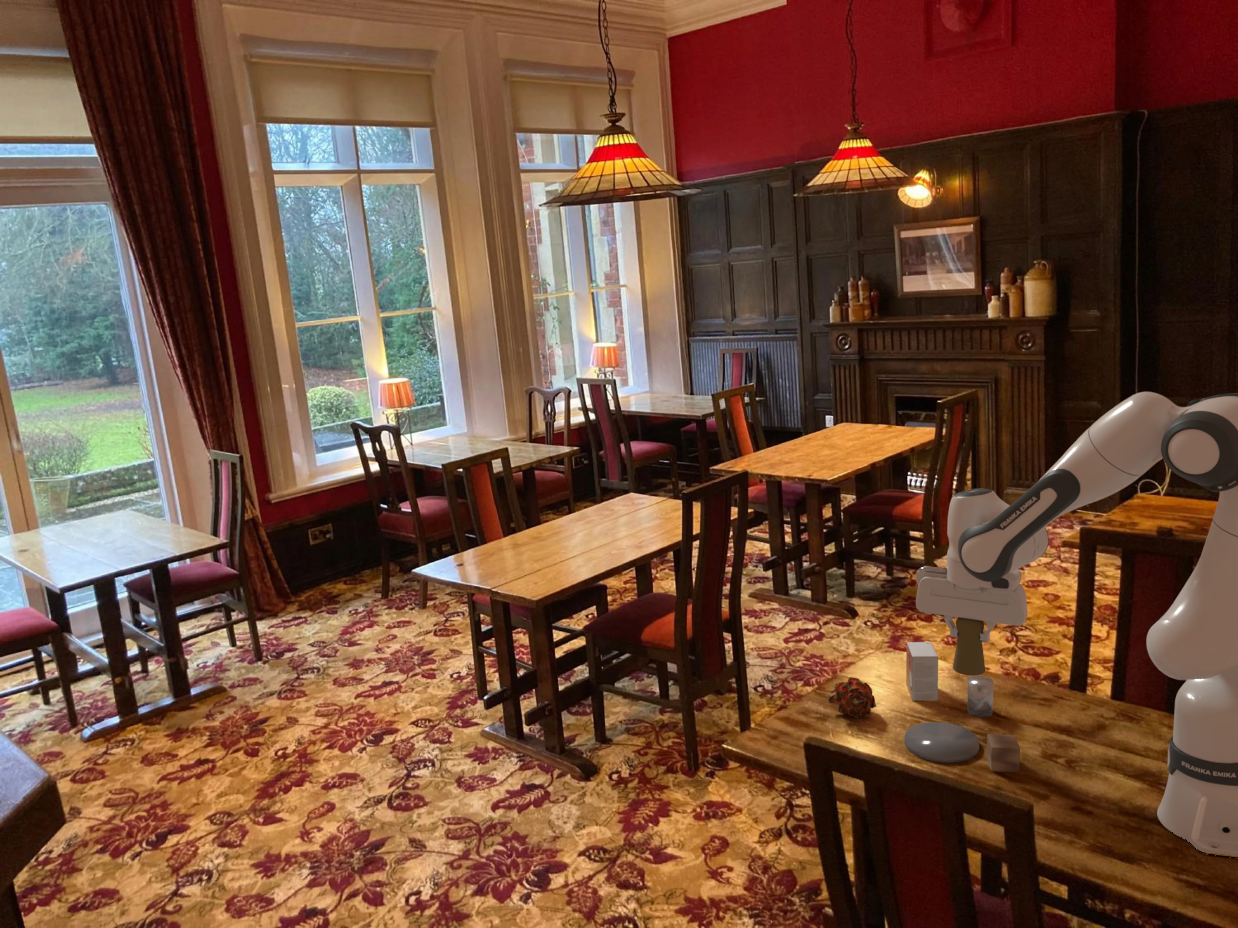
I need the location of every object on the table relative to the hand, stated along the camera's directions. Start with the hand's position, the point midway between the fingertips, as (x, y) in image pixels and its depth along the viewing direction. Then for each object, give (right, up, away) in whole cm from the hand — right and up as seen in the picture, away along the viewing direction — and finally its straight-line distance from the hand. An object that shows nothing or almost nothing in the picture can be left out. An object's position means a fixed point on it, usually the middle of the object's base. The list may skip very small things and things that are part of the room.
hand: (969, 638), depth 188 cm
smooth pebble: (-4, -22, +4) cm, 22 cm away
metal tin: (+8, -18, +16) cm, 25 cm away
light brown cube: (+4, -23, -5) cm, 24 cm away
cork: (0, -6, +1) cm, 7 cm away
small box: (-1, -17, +26) cm, 31 cm away
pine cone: (-18, -20, +19) cm, 33 cm away
